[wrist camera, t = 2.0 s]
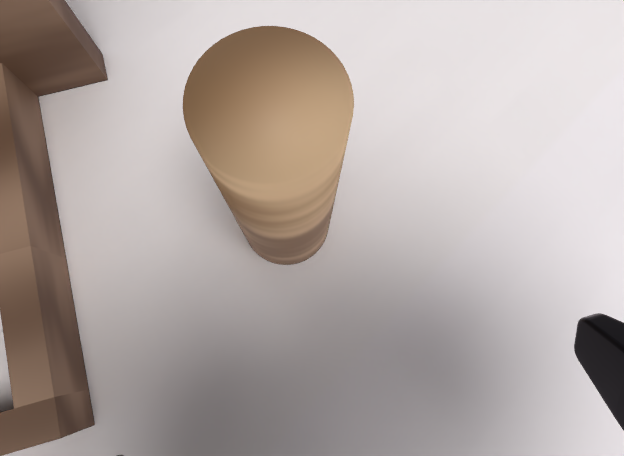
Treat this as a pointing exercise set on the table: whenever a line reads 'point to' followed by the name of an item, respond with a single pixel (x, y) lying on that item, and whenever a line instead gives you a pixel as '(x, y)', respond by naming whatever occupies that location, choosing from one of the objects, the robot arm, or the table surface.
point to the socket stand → (38, 225)
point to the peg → (272, 134)
